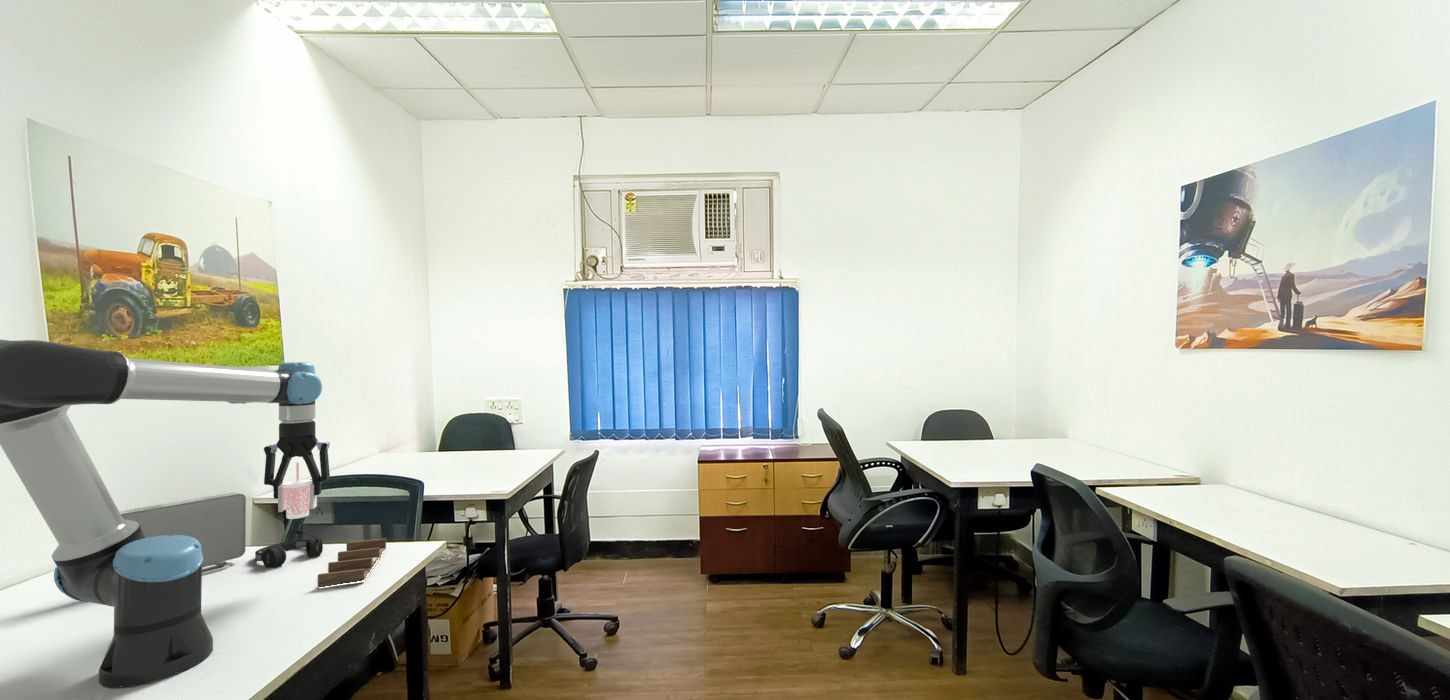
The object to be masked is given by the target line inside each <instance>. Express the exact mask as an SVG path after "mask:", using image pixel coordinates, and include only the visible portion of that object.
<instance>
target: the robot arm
mask: <svg viewBox="0 0 1450 700" xmlns="http://www.w3.org/2000/svg"><path fill="white" fill-rule="evenodd" d="M322 390H323V383H322V380H321V378H319V376H317V375H316V369H315V365H314V363H312V362H309V361H307V362H305V361H304V362H303V361H302V362H301V361H300V362H296V361H295V362H291V361H290V362H281V363H279V365H278V367H277V370H273V369H265V368H251V367H240V366H239V367H238V366H237V367H236V366H227V365H226V366H225V365H215V364H214V365H213V364H203V363H202V364H201V363H190V362H179V361H165V360H156V359H155V360H154V359H142V358H128V357H127V356H126V355H125V353H122V352H120V351H112V350H111V351H110V350H104V349H103V350H102V349H95V348H88V347H80V346H76V345H75V346H74V345H69V344H64V343H59V342H52V341H47V340H45V341H44V340H37V339H36V340H33V339H32V340H31V339H23V340H7V339H0V447H1V449H2V450H3V452H4V455H5V456H6V457H7V459H8V460H9V463H10V464H11V466H12V468H13V469H14V472H15V473H16V474H17V475H18V477H19V479H20V482H22V484H23V486H24V487H25V489H26V491H27V493H28V494H29V496H30V498H31V500H32V501H33V503H34V505H35V506H36V508H37V510H38V511H39V513H40V515H41V516H42V518H43V519H44V522H45V523H46V525H47V527H48V528H49V530H50V532H51V533H52V536H54V538H55V540H56V543H58V546H57V547H56V548H55V550H54V551H53V552H52V554H51V558H52V560H53V562H54V564H55V565H56V567H55V569H54V571H53V572H54V573H53V580H54V584H55V586H56V588H57V589H58V590H59V591H60V592H61V593H63V594H64V595H66V596H67V597H68V598H70V599H73V600H75V601H79V602H84V603H93V604H98V605H101V606H102V605H103V606H109V607H113V636H112V638H111V641H110V643H109V646H108V648H107V650H106V652H105V655H104V657H103V660H102V662H101V664H100V666H99V669H98V683H99V685H100V686H102V687H105V688H114V689H115V688H117V689H118V688H128V687H133V686H135V687H136V686H139V685H143V684H149V683H152V682H156V681H159V680H162V679H165V678H168V676H169V677H171V676H174V675H177V674H179V673H181V672H184V671H186V670H189V669H190V668H193V667H194V666H196V665H197V664H199V663H201V662H203V661H204V660H205V659H207V658H208V657H209V656H210V655H211V654H212V652H213V651H214V637H213V635H212V632H211V630H210V629H209V626H208V625H207V623H206V620H205V618H204V617H203V614H202V592H203V591H202V589H203V588H202V586H203V584H202V583H203V582H202V581H203V580H202V579H203V576H202V572H203V567H202V562H203V554H202V550H201V544H200V542H199V541H198V540H197V539H195V538H193V537H189V536H184V535H174V536H169V535H163V536H155V537H149V538H146V537H145V535H144V533H143V531H142V529H141V528H140V526H139V524H138V522H136V521H131V520H124V519H123V518H122V516H121V514H120V512H119V509H118V506H117V505H116V503H115V501H114V499H113V497H112V496H111V494H110V492H109V490H108V488H107V486H106V484H105V482H104V481H103V479H102V477H101V476H100V473H99V471H98V469H97V468H96V466H95V464H94V462H93V461H92V458H91V456H90V454H89V453H88V450H87V449H86V447H85V445H84V444H83V443H84V442H82V439H81V438H80V435H79V434H78V432H77V430H76V429H75V427H74V425H73V423H72V421H71V418H70V417H69V416H68V410H69V409H70V408H71V406H75V405H76V406H78V405H112V404H114V403H117V402H118V401H120V400H145V401H146V400H148V401H149V400H150V401H185V402H186V401H189V402H224V403H229V404H232V405H233V404H243V405H245V404H248V403H250V404H251V403H261V404H262V403H263V404H264V403H267V404H268V403H269V404H278V421H280V423H279V424H278V441H277V442H276V443H274V444H269V445H266V446H264V447H263V451H264V454H265V466H264V477H263V478H264V479H263V484H264V485H265V486H271V487H272V488H273V499H275V500H277V509H278V511H277V512H278V513H282V512H284V511H286V504H285V492H284V488H283V483H284V480H285V475H286V473H287V471H288V468H289V465H290V463H291V460H292V459H293V458H295V457H298V458H302V459H303V461H304V462H305V465H306V467H307V471H309V474H310V475H309V476H310V477H311V480H312V483H311V484H310V505H309V510H314V509H315V508H316V507H318V498H317V497H318V496H319V495H321V493H322V482H323V481H326V480H328V479H329V478H330V477H331V473H330V461H329V453H328V450H329V447H330V444H331V443H330V442H329V441H325V442H324V441H320V440H318V439H317V437H316V421H315V420H314V419H316V400H317V399H318V398H319V397H320V396H321V394H322ZM315 447H317V450H318V451H319V455H318V456H319V465H320V471H319V469H318V466H317V464H316V461H315V458H314V454H313V452H312V451H313V450H314V448H315ZM278 449H279V450H280V451H281V452H282V454H283V455H282V458H281V461H280V464H279V467H278V469H277V472H276V474H275V470H276V469H275V468H276V458H277V457H276V455H277V454H276V453H277V452H278ZM274 477H275V478H274Z"/></svg>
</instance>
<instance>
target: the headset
mask: <svg viewBox="0 0 1450 700" xmlns="http://www.w3.org/2000/svg"><path fill="white" fill-rule="evenodd" d="M295 533H296V534H299V535H302V534H304V535H306V536H307V535H308V536H311V537H308V538H306V539H296V540H290V541H284V542H280V543H275V544H271V545H268V546H264V547H261V548H260V549H258V550H255V551H254V553H255V555H254V556H255V561H256V562H262V563H263V565H264V566H265V567H266V568H271V569H272V568H274V567H275V568H276V567H278V566H279V567H280V566H282V565H284V563H286V560H287V552H286V551H288V550H289V551H291V550H296V549H305V553H306V555H307V557H308V558H313V557H315V556H318V555H319V556H320V555H321V554H322V553H323V552H324V551H323V550H324V549H323V547H324V546H323V540H322V537H320V536H314V535H312V534H310V533H306V532H304V531H303V530H299V529H298V530H296V531H295Z"/></svg>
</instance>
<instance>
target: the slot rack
mask: <svg viewBox="0 0 1450 700" xmlns="http://www.w3.org/2000/svg"><path fill="white" fill-rule="evenodd" d="M385 549H386V550H387V538H385V537H384V538H377V539H376V538H374V539H368V540H367V539H366V540H365V539H364V540H358V541H349V542H346V550H343V551H338V552H337V561H331V562H330V561H329V562H328V565H327V566H328V568H327V569H328V570H327V571H328V572H324V573H318V574H317V588H318V587H325V586H331V585H337V584H343V583H350V582H357V581H362V580H364V579H365V578H366V576H367V574H368V573H369V572H370V570H371V569H372V567H373V566H374V564H375V563H376V561H377V560H378V558H379V557H380V555H381V554H382V552H383V551H384V550H385Z"/></svg>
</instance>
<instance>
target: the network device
mask: <svg viewBox="0 0 1450 700" xmlns="http://www.w3.org/2000/svg"><path fill="white" fill-rule="evenodd" d="M246 498H247V497H246V495H245V494H243V493H240V492H237V491H233V492H227V493H221V494H216V495H209V496H204V497H203V496H202V497H197V498H191V499H190V498H189V499H185V500H178V501H173V502H167V503H161V504H156V505H150V506H149V505H148V506H144V507H142V506H141V507H138V508H133V509H132V508H131V509H125V510H120V511H119V512H120V514H121V516H122V518H123V519H124V520H131V521H136V522H138V524H139V526H140V528H141V529H142V531H143V533H144V535H145V537H146V538H149V537H155V536H163V535H169V536H174V535H184V536H189V537H193V538H195V539H197V540H198V541H199V542H200V544H201V550H202V554H203V562H202V568H205V567H209V566H215V565H219V566H221V567H219V568H214V569H211V570H206V571H202V577H203V576H207V575H211V574H216V573H219V572H222V571H226V570H227V569H229V568H230V567H231V564H230V563H229V562H227V561H231V560H235V559H239V558H241V557H242V556H244V554H245V553H246V540H247V539H246V536H247V535H246V530H247V529H246V526H247V525H246V520H247V519H246V518H247V517H246V515H247V514H246V513H247V511H246V510H247V506H246V504H247V503H246V502H247V499H246Z"/></svg>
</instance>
